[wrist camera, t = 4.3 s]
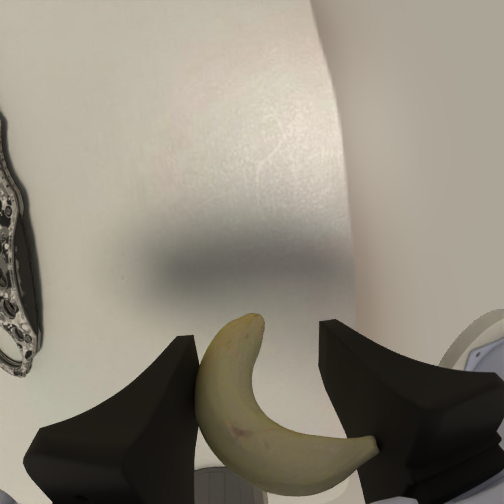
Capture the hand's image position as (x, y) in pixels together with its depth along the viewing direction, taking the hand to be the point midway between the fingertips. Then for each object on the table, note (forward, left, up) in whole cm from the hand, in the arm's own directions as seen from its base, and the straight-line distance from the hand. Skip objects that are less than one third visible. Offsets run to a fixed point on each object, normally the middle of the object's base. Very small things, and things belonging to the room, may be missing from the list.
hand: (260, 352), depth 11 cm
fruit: (0, 0, -2) cm, 2 cm away
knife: (+19, -7, -8) cm, 22 cm away
